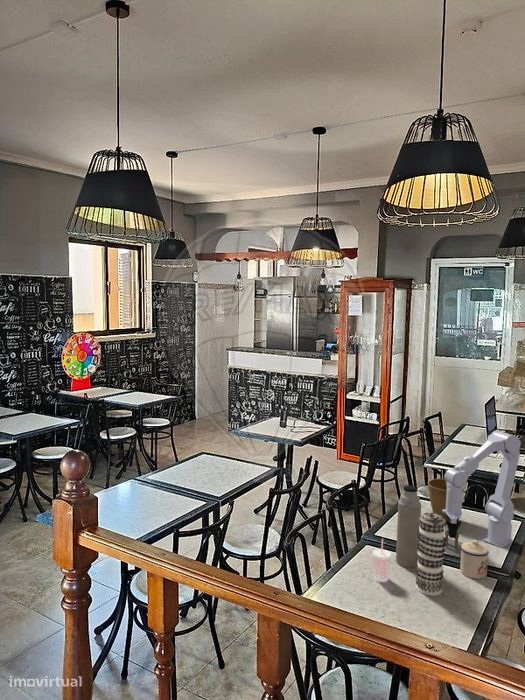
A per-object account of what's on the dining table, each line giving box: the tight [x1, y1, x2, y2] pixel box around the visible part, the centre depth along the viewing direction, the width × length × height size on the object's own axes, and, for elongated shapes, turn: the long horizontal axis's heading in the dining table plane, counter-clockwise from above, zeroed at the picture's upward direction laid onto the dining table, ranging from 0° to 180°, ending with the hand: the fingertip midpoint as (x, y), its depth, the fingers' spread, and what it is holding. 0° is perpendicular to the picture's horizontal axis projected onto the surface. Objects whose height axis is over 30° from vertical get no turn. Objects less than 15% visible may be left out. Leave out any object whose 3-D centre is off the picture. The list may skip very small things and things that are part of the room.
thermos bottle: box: [395, 485, 422, 569], centre depth 193 cm, size 8×8×28 cm
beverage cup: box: [372, 538, 392, 583], centre depth 181 cm, size 6×6×14 cm
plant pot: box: [427, 478, 465, 524], centre depth 232 cm, size 15×15×16 cm
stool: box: [444, 524, 460, 548], centre depth 206 cm, size 5×5×6 cm
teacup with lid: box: [459, 539, 490, 580], centre depth 188 cm, size 12×9×12 cm
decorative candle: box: [415, 511, 446, 596], centre depth 175 cm, size 9×9×25 cm
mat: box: [443, 537, 464, 558], centre depth 207 cm, size 12×12×1 cm
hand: (452, 534), depth 206 cm, fingers closed on stool, 5 cm apart
